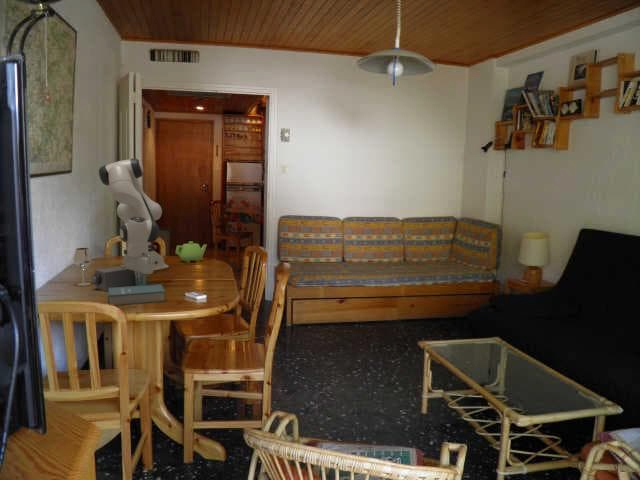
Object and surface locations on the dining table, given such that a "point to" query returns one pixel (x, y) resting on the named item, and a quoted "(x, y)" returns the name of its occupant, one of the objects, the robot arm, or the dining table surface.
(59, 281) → the dining table surface
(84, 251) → the wineglass
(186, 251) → the teapot
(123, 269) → the housing
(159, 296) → the book
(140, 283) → the side door
